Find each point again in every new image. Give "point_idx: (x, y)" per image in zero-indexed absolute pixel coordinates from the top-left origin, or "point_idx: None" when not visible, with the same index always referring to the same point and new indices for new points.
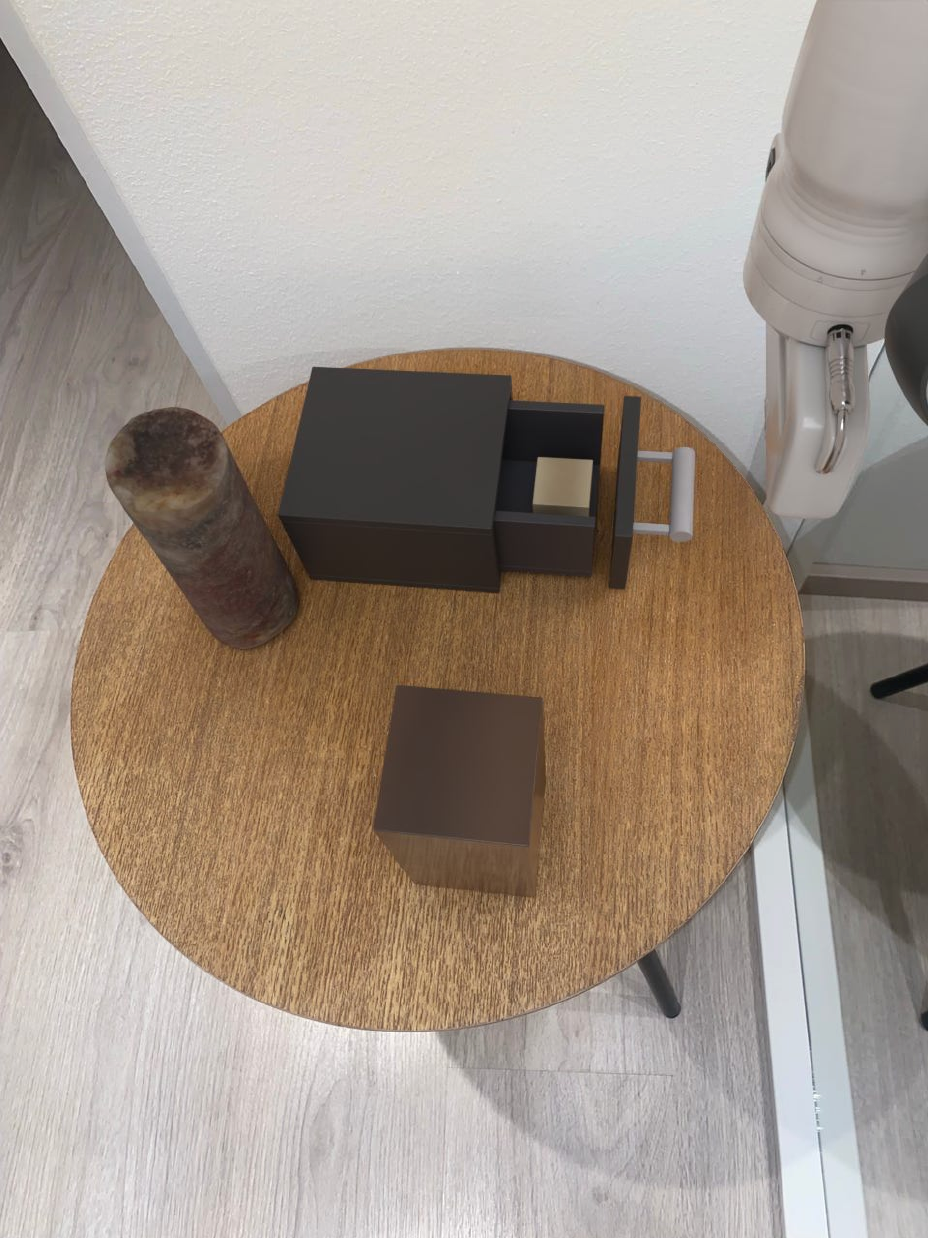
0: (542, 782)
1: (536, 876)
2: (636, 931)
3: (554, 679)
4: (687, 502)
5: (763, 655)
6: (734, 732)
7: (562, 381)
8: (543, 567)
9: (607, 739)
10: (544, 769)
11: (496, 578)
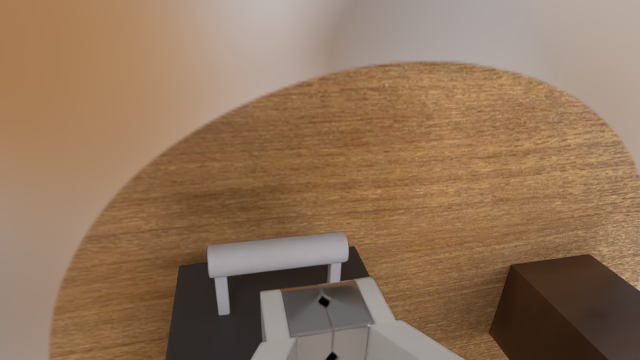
0: (586, 312)
1: (589, 263)
2: (631, 186)
3: (431, 275)
4: (304, 255)
5: (423, 96)
6: (499, 123)
7: (68, 342)
8: None
9: (488, 228)
10: (557, 301)
11: None
